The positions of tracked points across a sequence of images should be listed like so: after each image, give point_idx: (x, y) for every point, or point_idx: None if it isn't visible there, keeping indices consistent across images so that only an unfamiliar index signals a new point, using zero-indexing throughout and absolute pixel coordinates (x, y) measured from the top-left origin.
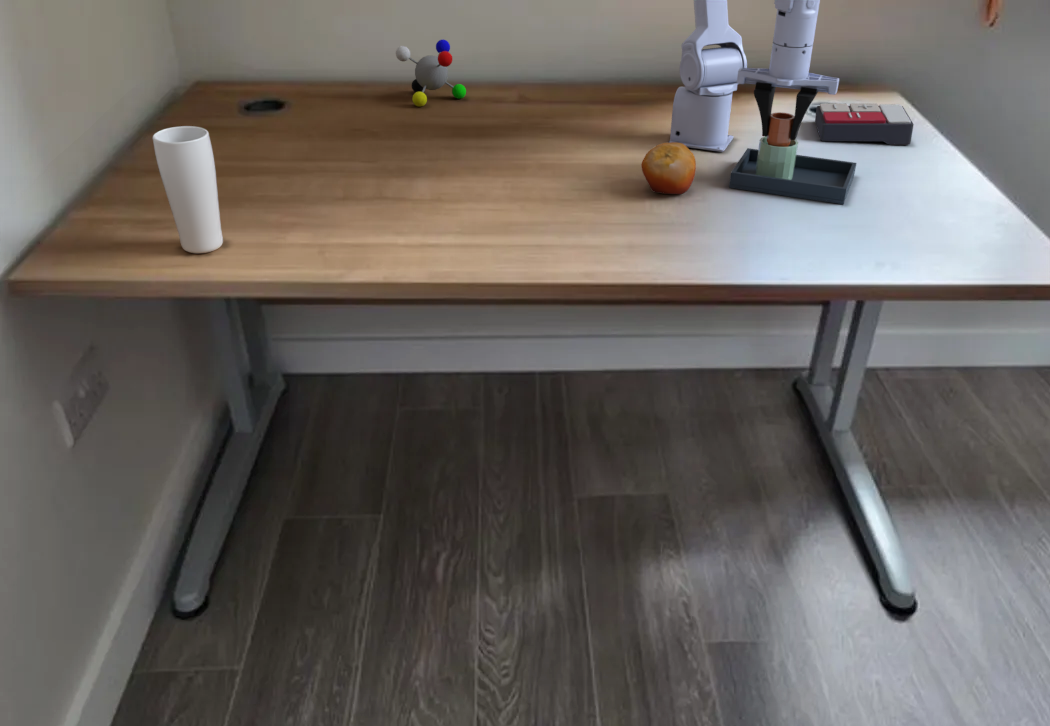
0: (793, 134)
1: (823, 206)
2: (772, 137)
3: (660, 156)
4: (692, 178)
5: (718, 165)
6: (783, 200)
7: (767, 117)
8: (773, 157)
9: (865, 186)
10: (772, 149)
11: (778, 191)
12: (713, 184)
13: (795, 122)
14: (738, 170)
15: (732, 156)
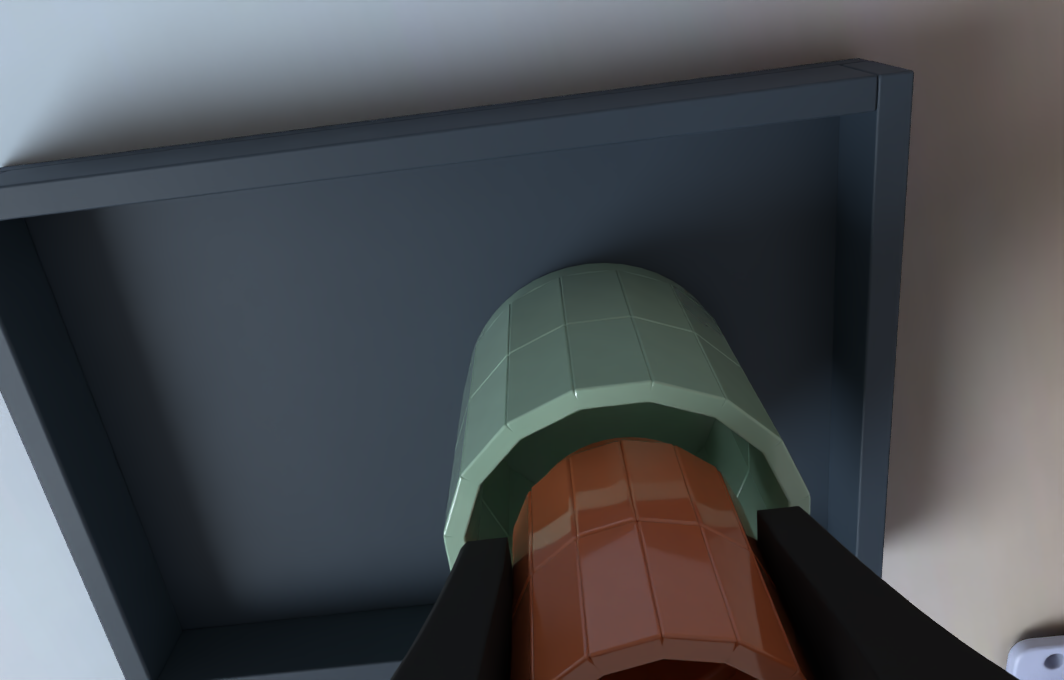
0: (474, 569)
1: (95, 57)
2: (686, 485)
3: None
4: None
5: (1005, 444)
6: (399, 18)
7: (848, 638)
8: (608, 340)
9: (54, 543)
10: (637, 368)
11: (473, 112)
12: (989, 69)
13: (456, 662)
14: (858, 241)
15: (939, 617)
